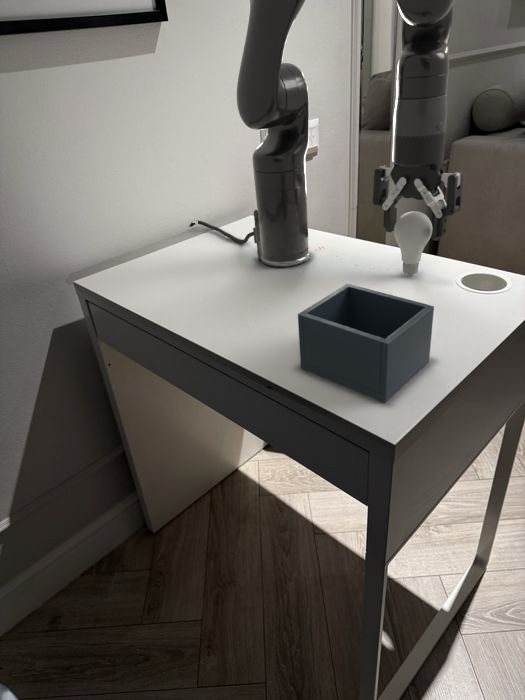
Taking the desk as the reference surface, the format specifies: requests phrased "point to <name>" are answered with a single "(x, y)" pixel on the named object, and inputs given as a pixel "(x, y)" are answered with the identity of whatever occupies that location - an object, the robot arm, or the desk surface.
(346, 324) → the bin
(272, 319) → the desk surface
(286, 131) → the robot arm
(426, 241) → the lightbulb
